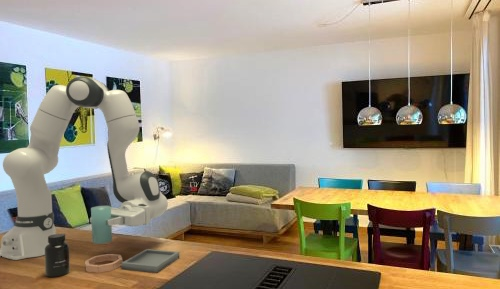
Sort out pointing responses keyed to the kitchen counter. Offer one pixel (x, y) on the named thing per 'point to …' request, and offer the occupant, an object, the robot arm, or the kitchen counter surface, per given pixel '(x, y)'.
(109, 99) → the robot arm
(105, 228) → the teal green cylinder
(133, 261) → the tray
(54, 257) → the supplement bottle
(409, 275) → the kitchen counter surface
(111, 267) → the holder
